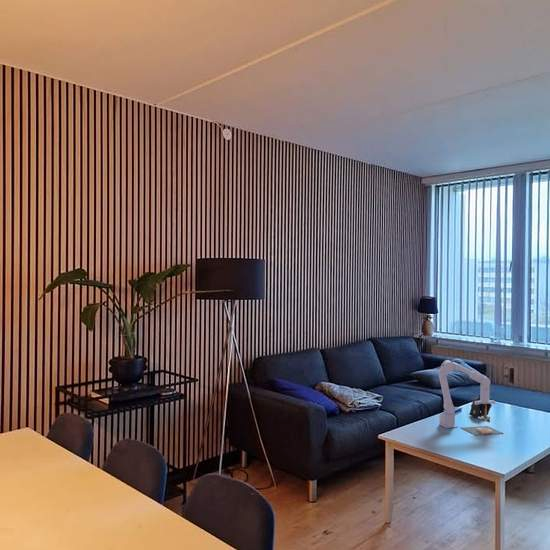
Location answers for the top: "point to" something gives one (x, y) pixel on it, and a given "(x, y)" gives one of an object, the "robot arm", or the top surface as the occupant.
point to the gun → (476, 409)
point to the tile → (484, 430)
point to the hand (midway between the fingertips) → (484, 414)
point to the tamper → (485, 414)
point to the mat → (477, 433)
